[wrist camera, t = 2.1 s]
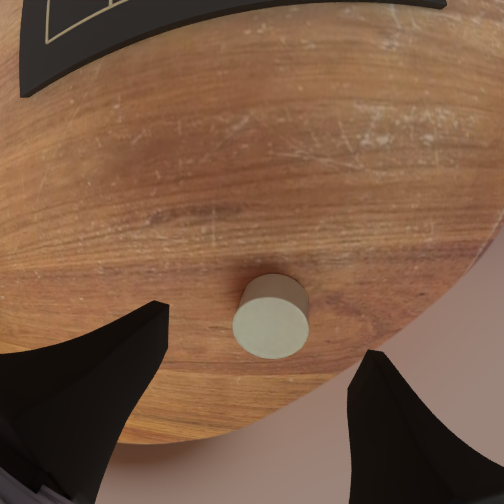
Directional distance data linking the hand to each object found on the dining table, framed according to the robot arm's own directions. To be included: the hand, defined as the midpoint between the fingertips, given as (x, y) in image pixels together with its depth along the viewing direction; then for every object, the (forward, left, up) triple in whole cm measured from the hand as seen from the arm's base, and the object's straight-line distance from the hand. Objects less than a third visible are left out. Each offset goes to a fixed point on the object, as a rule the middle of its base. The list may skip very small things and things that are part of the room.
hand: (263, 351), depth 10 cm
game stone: (-1, +3, -9) cm, 9 cm away
